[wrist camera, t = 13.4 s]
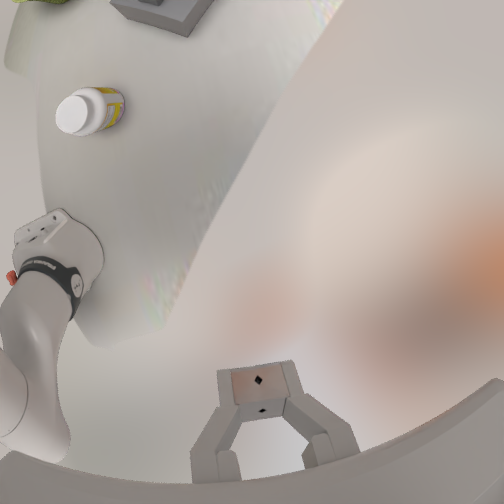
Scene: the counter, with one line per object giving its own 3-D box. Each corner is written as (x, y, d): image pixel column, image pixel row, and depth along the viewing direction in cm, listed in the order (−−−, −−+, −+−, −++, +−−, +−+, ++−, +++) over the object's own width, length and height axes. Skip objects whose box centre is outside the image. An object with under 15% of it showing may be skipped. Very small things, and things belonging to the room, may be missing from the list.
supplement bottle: (83, 100, 31) (42, 104, 21) (118, 81, 31) (85, 76, 21) (96, 134, 35) (59, 150, 24) (131, 117, 35) (102, 125, 24)
